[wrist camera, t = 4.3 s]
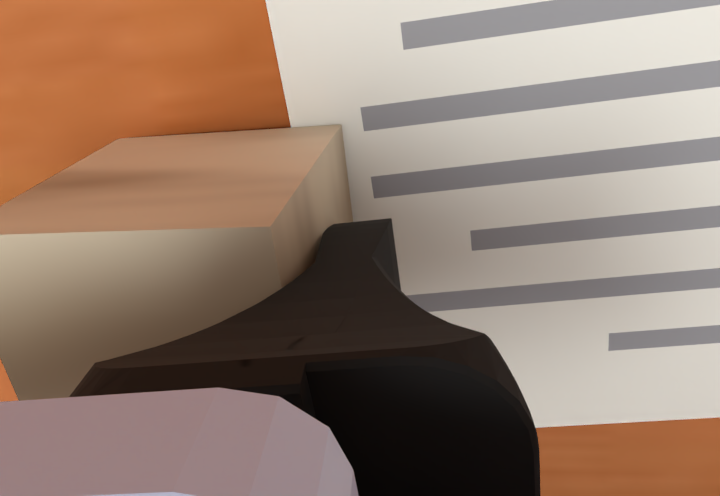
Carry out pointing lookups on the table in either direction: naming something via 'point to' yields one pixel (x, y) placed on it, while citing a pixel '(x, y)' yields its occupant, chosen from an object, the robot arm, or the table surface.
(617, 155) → the letter
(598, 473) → the table surface
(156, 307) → the beech block
